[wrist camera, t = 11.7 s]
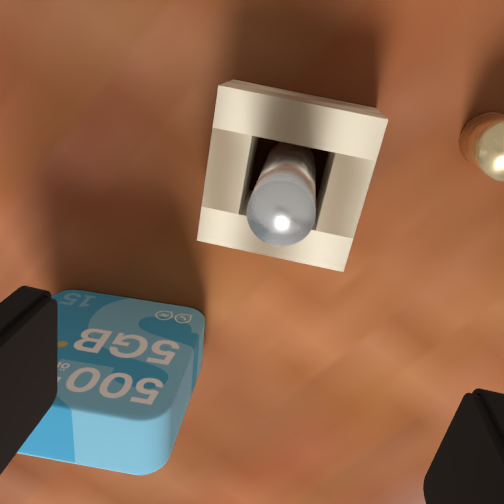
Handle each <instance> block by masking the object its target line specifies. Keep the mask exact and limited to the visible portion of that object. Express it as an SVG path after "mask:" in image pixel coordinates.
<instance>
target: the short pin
mask: <svg viewBox="0 0 504 504" xmlns="http://www.w3.org/2000/svg"><path fill="white" fill-rule="evenodd" d="M459 148H460V151H461V153H462V155H463V156H464V157H465V159H467V160H468V161H469V162H471V163H472V164H473V165H475V166H476V167H477V168H479V169H480V170H482V171H483V172H484V173H486V174H487V175H488V176H490V177H491V178H493V179H495V180H498V181H504V114H501V113H497V112H486V113H482V114H479V115H477V116H475V117H474V118H472V119H471V120H470V121H469V122H468V123H467V124H466V125H465V126H464V128H463V130H462V132H461V134H460V138H459Z"/></svg>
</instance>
